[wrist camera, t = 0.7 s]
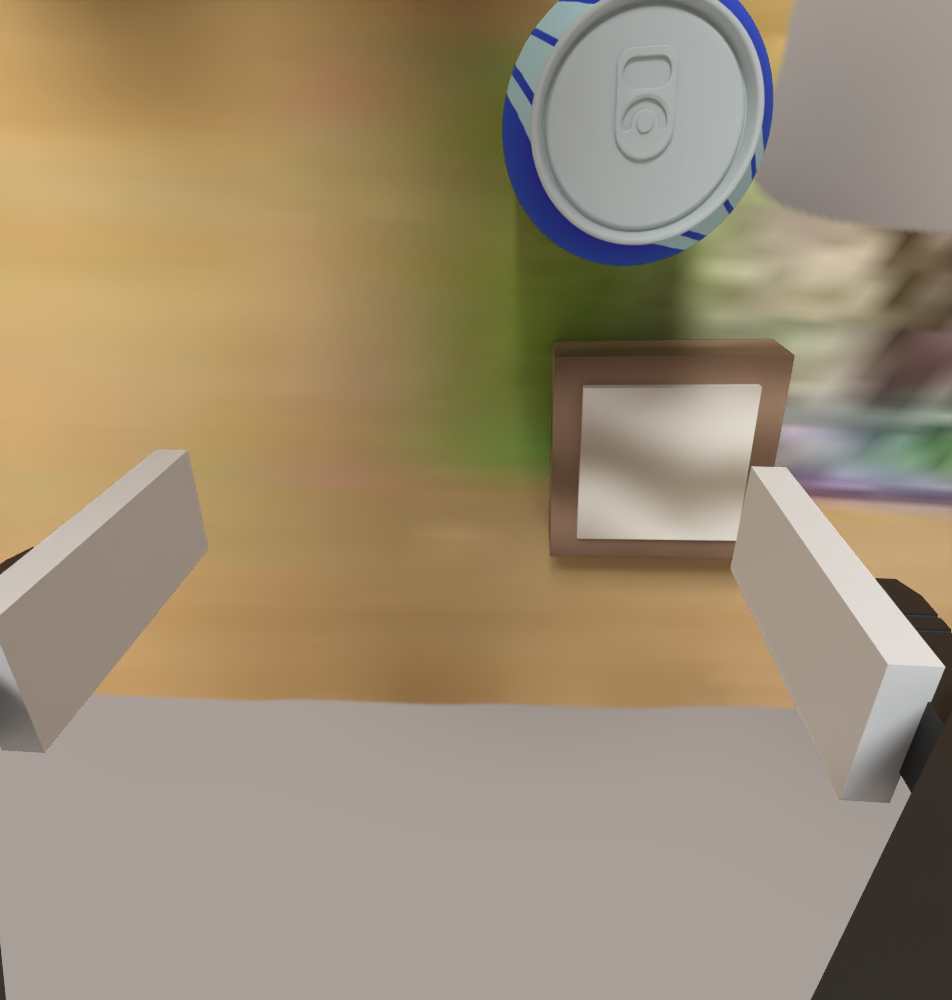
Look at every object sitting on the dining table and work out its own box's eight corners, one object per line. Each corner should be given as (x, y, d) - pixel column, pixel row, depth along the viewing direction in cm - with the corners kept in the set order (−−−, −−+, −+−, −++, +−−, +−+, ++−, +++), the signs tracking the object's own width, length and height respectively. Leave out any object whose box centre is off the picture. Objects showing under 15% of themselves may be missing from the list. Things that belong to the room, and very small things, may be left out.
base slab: (553, 341, 38) (555, 359, 35) (772, 338, 37) (797, 357, 34) (548, 527, 44) (550, 560, 40) (740, 529, 43) (759, 563, 39)
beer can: (722, 118, 33) (866, 86, 19) (605, 263, 36) (652, 330, 22) (589, -7, 31) (636, -148, 17) (480, 158, 34) (442, 157, 20)
